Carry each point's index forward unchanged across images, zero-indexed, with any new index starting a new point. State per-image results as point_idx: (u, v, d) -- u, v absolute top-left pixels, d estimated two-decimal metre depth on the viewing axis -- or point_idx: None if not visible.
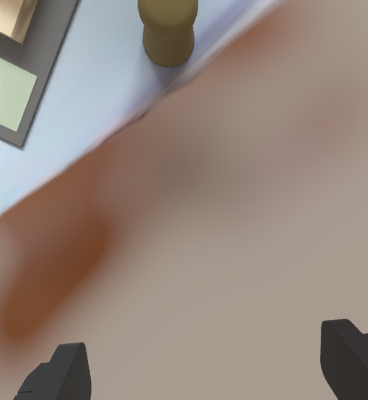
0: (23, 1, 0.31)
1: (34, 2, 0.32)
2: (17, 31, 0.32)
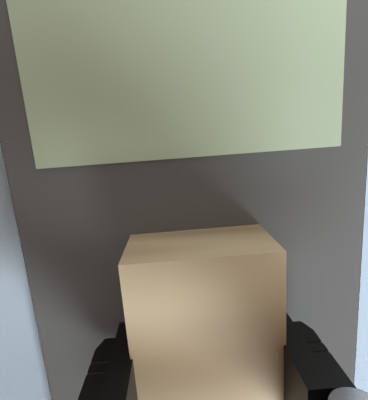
0: None
1: None
2: None
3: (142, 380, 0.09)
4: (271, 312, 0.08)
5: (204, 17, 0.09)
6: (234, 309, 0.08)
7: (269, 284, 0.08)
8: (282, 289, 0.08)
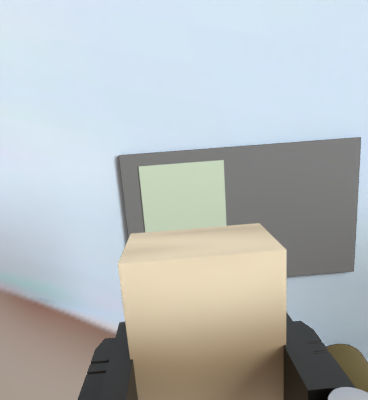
0: None
1: None
2: None
3: (142, 379, 0.09)
4: (271, 311, 0.08)
5: (177, 214, 0.25)
6: (234, 307, 0.08)
7: (269, 283, 0.08)
8: (282, 288, 0.08)
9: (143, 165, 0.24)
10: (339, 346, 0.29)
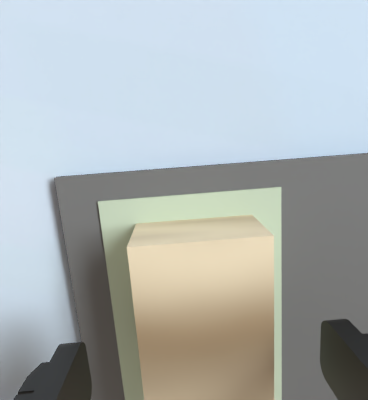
0: (139, 353, 0.10)
1: None
2: None
3: (147, 350, 0.10)
4: (261, 290, 0.09)
5: None
6: (228, 286, 0.09)
7: (259, 265, 0.09)
8: (270, 269, 0.09)
9: (108, 199, 0.11)
10: None
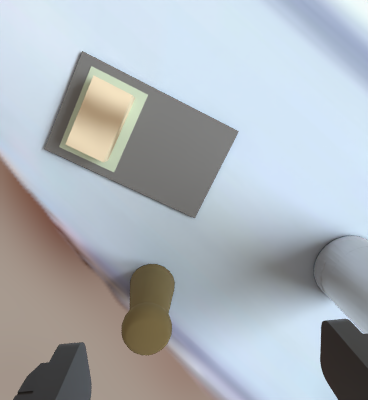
0: (80, 109, 0.32)
1: None
2: None
3: (82, 108, 0.32)
4: (122, 109, 0.32)
5: None
6: (114, 102, 0.32)
7: (125, 101, 0.32)
8: (127, 104, 0.32)
9: (95, 67, 0.33)
10: (161, 267, 0.39)
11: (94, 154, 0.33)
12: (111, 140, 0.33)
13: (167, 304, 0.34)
